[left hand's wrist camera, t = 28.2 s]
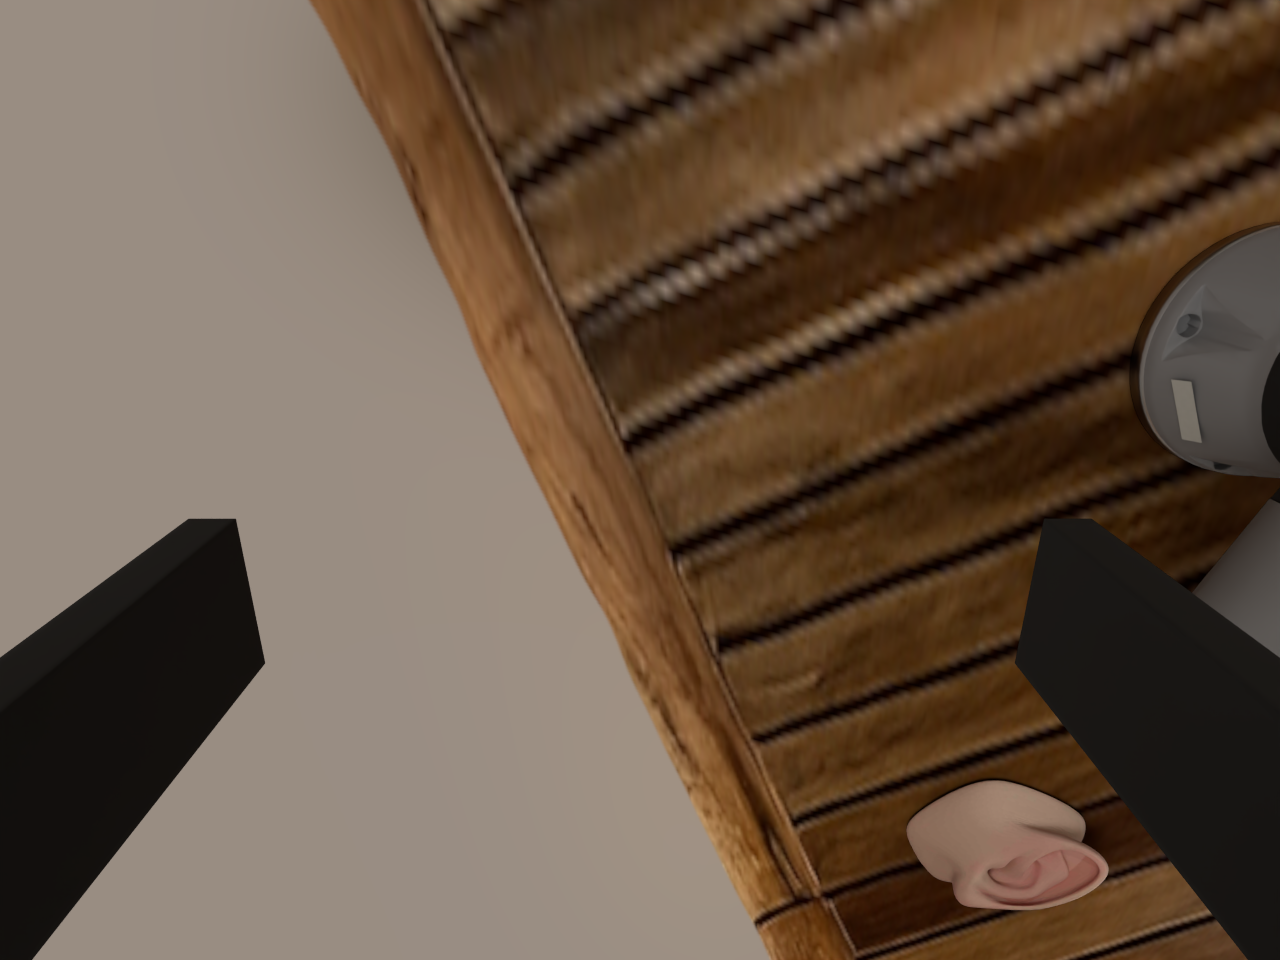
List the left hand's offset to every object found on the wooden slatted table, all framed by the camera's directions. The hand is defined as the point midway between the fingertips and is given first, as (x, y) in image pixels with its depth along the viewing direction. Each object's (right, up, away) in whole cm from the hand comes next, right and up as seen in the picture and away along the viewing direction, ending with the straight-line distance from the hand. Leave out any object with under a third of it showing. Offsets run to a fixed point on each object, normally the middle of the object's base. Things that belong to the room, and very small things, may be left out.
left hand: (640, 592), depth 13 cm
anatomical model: (+28, -27, +49) cm, 63 cm away
